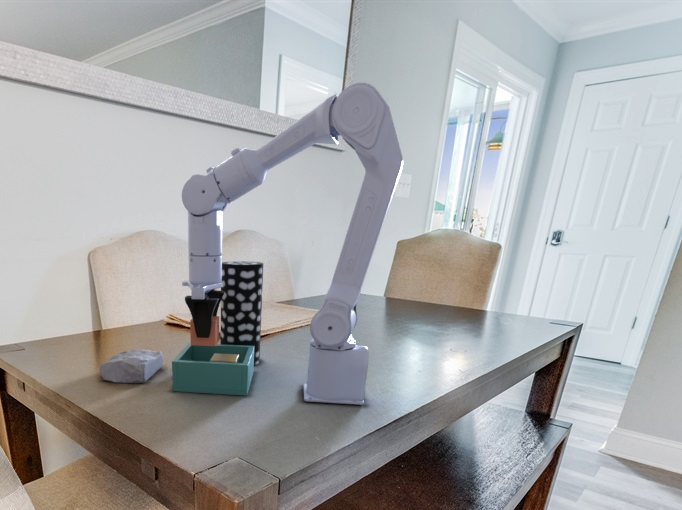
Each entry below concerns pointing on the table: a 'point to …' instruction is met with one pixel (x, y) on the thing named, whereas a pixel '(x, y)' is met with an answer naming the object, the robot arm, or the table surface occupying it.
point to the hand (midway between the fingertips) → (205, 334)
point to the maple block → (225, 358)
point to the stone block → (131, 366)
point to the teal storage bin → (213, 370)
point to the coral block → (213, 335)
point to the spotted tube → (242, 304)
